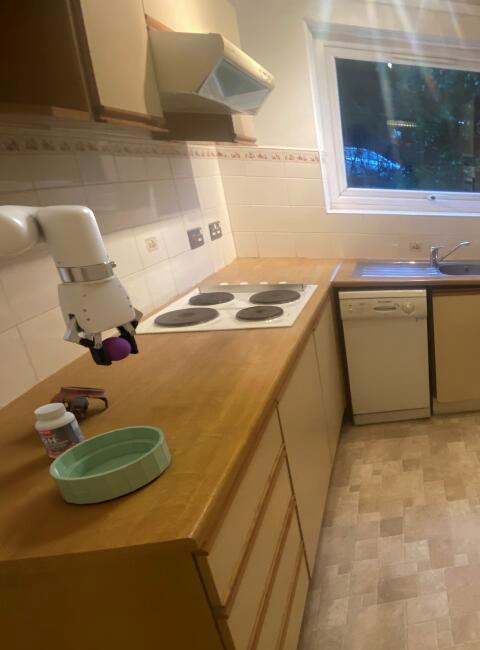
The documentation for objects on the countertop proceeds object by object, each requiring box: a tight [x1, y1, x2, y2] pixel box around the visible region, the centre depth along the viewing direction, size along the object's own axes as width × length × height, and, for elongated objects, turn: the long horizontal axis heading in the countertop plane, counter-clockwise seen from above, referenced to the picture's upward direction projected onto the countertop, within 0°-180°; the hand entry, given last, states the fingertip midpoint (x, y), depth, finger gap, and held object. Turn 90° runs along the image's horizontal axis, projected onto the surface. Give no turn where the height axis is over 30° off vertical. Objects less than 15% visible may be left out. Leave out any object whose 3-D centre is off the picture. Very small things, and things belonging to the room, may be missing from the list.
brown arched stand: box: [49, 386, 109, 423], centre depth 95 cm, size 12×10×8 cm
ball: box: [102, 336, 131, 362], centre depth 89 cm, size 5×5×5 cm
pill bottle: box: [33, 403, 86, 459], centre depth 83 cm, size 5×5×10 cm
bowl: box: [49, 425, 173, 505], centre depth 78 cm, size 15×15×6 cm
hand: (118, 358), depth 90 cm, fingers closed on ball, 4 cm apart
